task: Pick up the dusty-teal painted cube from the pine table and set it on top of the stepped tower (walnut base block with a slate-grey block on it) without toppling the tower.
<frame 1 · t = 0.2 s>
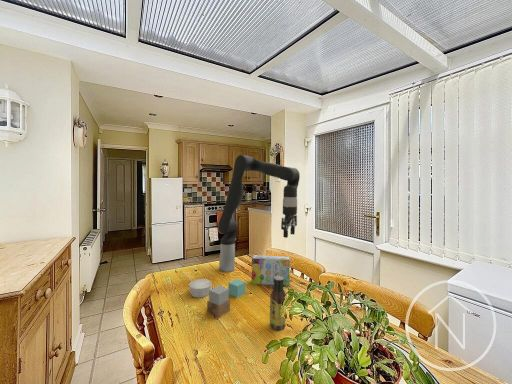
hand: (289, 235, 122), 29 cm above the table, fingers open, 8 cm apart
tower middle: (218, 300, 101), point 5 cm above the table, touching tower base
teal cube: (236, 293, 117), on the table
sauce bottle: (277, 326, 91), on the table
snack box: (270, 283, 130), on the table
tower base: (218, 311, 101), on the table, touching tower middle
ramekin: (200, 293, 117), on the table
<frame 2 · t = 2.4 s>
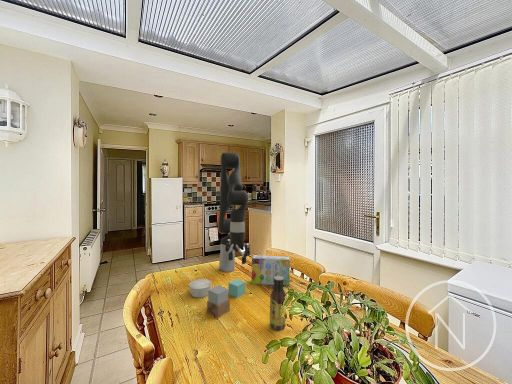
hand: (237, 261, 116), 17 cm above the table, fingers open, 8 cm apart
nothing on the table moved.
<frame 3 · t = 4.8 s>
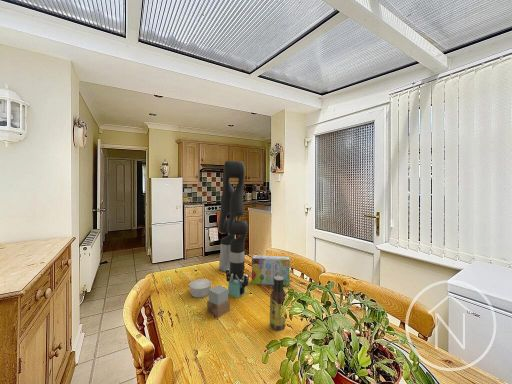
hand: (236, 292, 117), 1 cm above the table, fingers closed on teal cube, 6 cm apart
teal cube: (236, 293, 117), on the table, touching gripper
everything else where it was.
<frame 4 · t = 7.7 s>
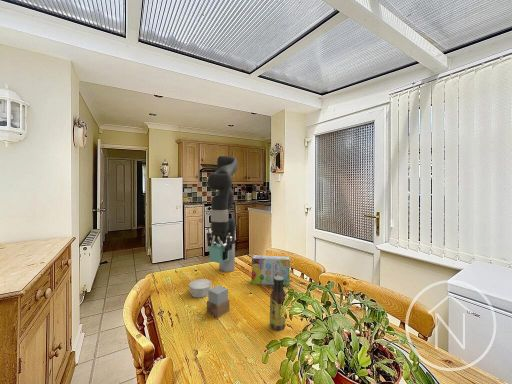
hand: (219, 257, 100), 24 cm above the table, fingers closed on teal cube, 6 cm apart
teal cube: (219, 259, 100), point 23 cm above the table, touching gripper
everything else where it was.
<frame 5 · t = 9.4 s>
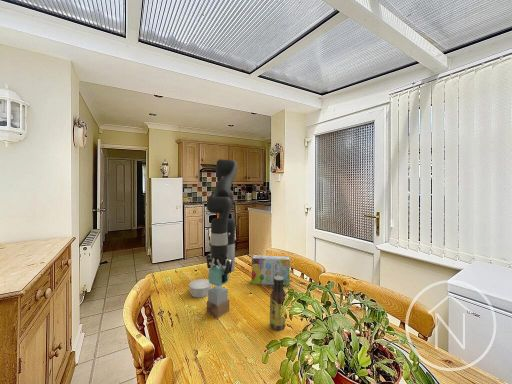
hand: (218, 280, 100), 14 cm above the table, fingers closed on teal cube, 6 cm apart
teal cube: (218, 282, 100), point 13 cm above the table, touching gripper
everything else where it was.
when the fingers open (12 cm above the table, at t = 10.8 s): teal cube drops 1 cm, resting on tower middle.
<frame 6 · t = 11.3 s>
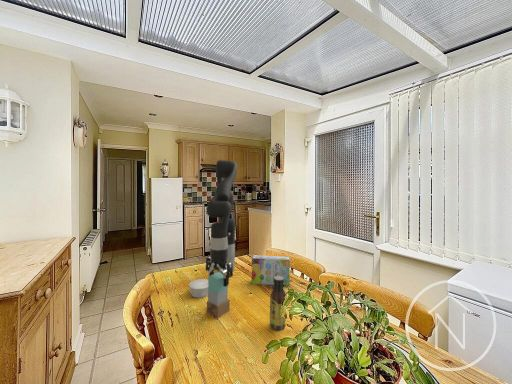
hand: (218, 283, 100), 13 cm above the table, fingers open, 8 cm apart
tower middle: (217, 300, 101), point 5 cm above the table, touching teal cube, tower base
teal cube: (218, 289, 101), point 10 cm above the table, touching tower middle
everything else where it was.
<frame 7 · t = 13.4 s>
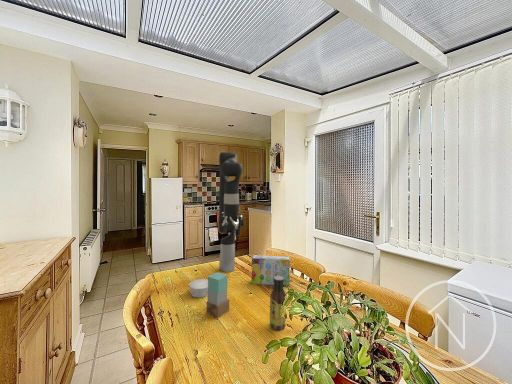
hand: (231, 234, 116), 31 cm above the table, fingers open, 8 cm apart
nothing on the table moved.
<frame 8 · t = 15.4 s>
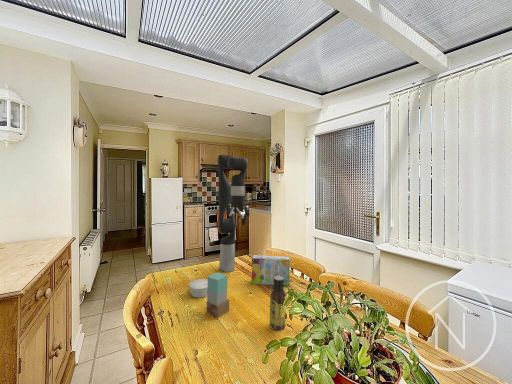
hand: (237, 224, 125), 34 cm above the table, fingers open, 8 cm apart
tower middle: (217, 300, 101), point 5 cm above the table, touching teal cube
tower base: (218, 311, 101), on the table
everything else where it was.
at the end: teal cube 0.4 cm off-centre on the tower base, point 10.0 cm above the tower base's base; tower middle tilted 0°; teal cube tilted 0° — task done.
